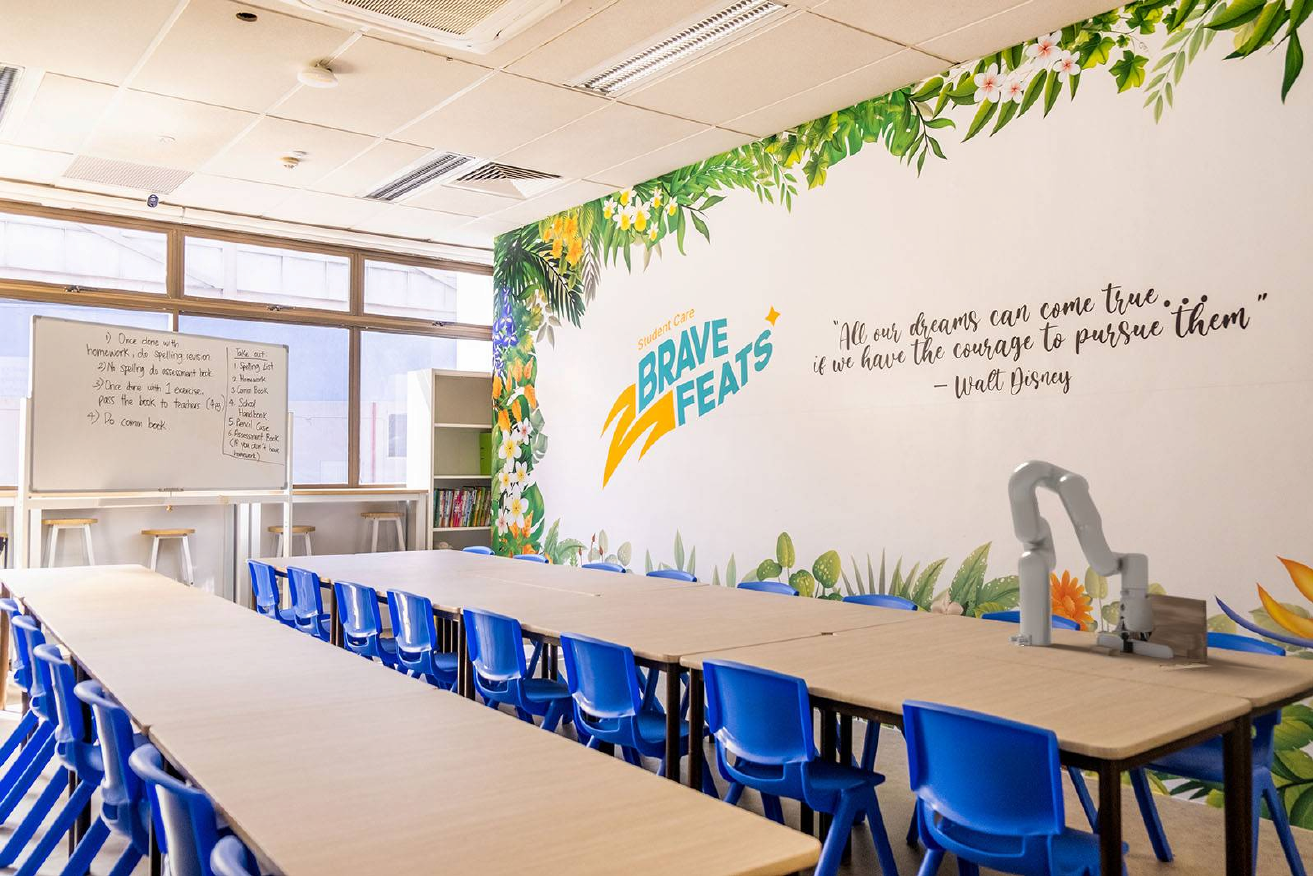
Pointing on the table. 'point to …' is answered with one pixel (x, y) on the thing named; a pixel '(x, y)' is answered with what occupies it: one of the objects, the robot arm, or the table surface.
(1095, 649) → the offcut top
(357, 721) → the table surface
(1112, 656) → the offcut low
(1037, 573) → the robot arm
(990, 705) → the table surface
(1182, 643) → the wooden panel stand
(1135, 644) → the tube
